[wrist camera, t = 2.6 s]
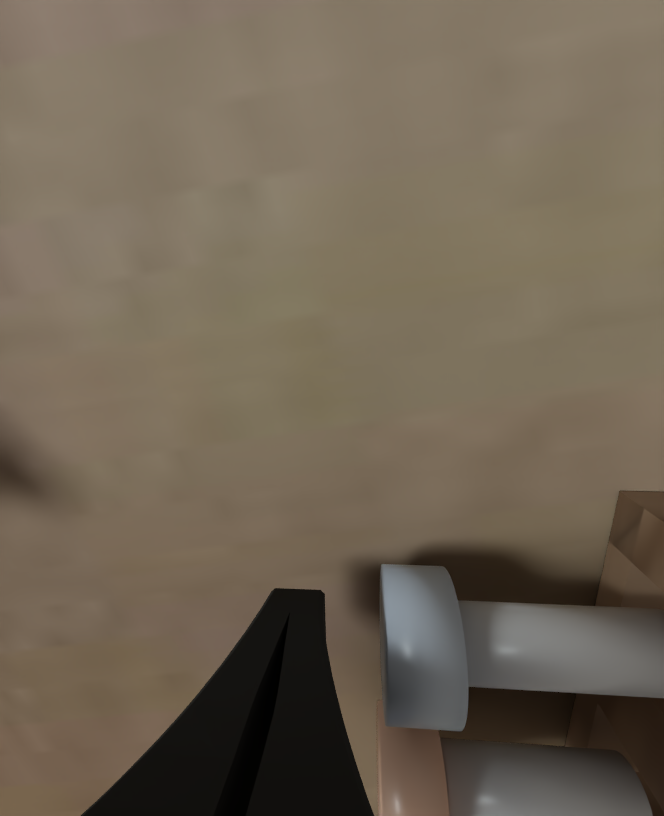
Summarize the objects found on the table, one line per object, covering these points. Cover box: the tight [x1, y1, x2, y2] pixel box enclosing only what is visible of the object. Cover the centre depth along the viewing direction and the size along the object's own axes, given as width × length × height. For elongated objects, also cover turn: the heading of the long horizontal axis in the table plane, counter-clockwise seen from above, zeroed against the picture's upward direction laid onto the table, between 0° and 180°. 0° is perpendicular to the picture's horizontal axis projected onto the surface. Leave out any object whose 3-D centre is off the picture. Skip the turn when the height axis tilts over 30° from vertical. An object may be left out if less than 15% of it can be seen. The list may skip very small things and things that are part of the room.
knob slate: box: [379, 564, 664, 731], centre depth 9 cm, size 7×3×3 cm, turn 91°
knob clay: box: [377, 700, 653, 816], centre depth 10 cm, size 7×3×3 cm, turn 91°
